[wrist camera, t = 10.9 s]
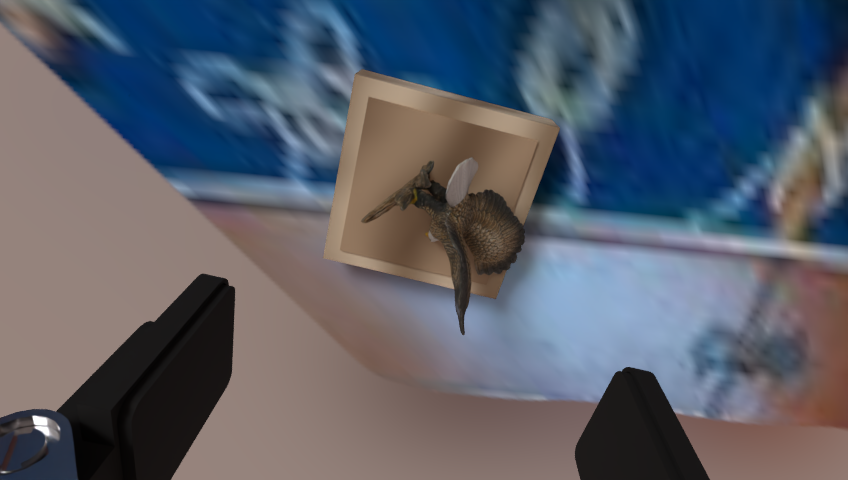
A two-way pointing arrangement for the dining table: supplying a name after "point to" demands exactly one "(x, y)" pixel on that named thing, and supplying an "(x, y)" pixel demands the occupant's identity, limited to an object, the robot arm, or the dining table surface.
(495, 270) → the brown bird figurine
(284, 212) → the dining table surface
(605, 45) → the dining table surface
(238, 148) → the dining table surface
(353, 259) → the tan wooden tray
